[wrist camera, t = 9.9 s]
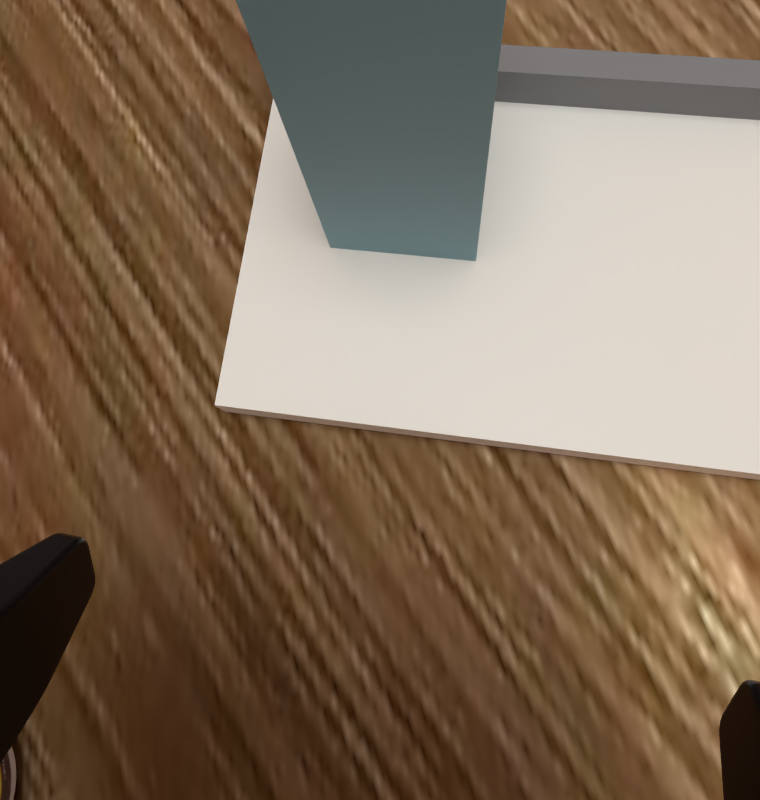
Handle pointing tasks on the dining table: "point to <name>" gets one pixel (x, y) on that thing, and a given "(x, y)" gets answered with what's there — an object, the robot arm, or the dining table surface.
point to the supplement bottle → (8, 776)
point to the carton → (386, 114)
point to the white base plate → (537, 279)
